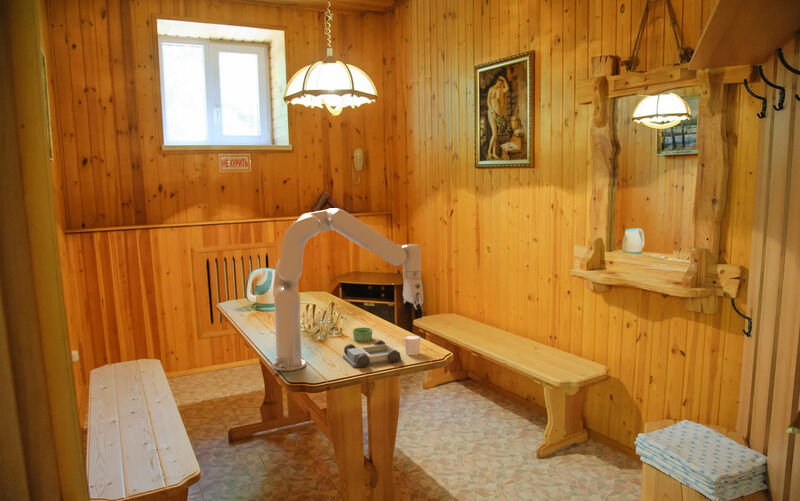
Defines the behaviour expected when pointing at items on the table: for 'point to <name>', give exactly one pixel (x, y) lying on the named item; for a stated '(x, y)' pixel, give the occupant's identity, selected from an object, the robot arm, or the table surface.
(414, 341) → the pale pink cup
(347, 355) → the chassis
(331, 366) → the table surface
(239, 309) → the table surface
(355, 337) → the ramekin
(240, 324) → the table surface
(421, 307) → the robot arm
